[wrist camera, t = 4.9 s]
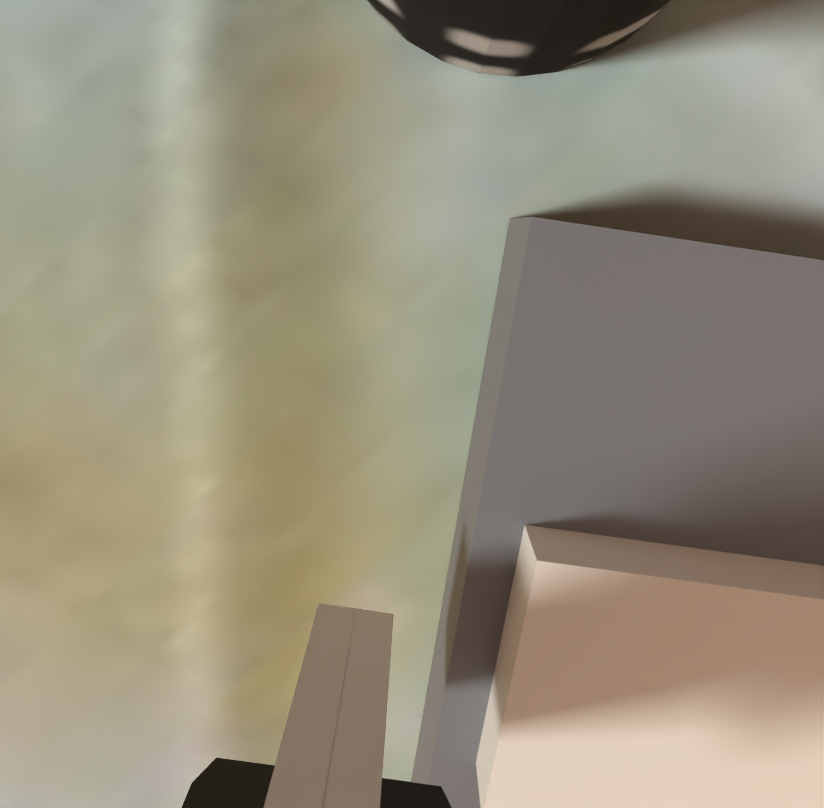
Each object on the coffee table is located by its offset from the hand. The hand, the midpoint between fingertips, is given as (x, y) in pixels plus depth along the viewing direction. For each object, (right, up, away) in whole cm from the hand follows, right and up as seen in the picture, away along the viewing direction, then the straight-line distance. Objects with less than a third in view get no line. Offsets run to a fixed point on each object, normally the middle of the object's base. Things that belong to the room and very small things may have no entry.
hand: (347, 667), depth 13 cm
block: (+8, -1, +1) cm, 8 cm away
